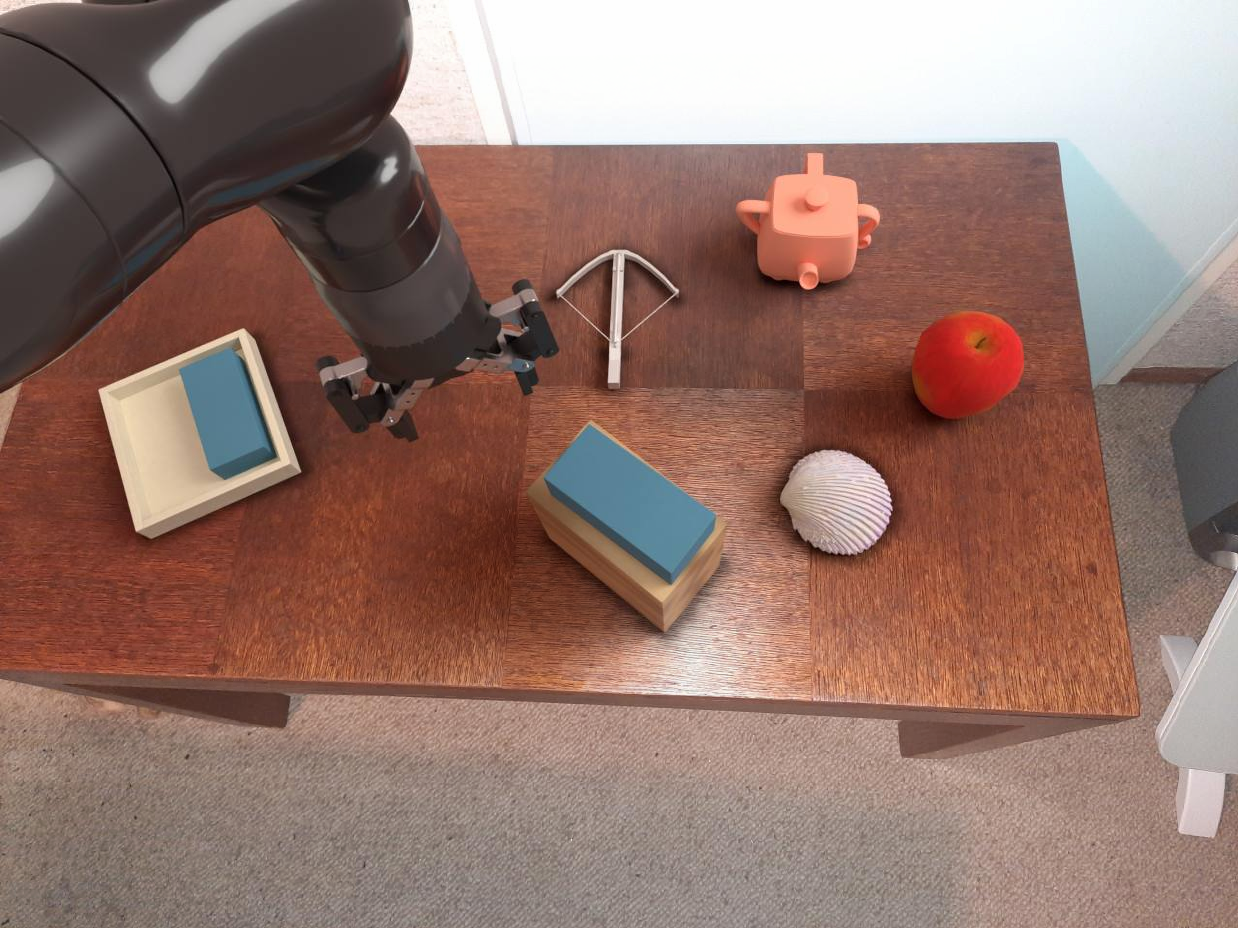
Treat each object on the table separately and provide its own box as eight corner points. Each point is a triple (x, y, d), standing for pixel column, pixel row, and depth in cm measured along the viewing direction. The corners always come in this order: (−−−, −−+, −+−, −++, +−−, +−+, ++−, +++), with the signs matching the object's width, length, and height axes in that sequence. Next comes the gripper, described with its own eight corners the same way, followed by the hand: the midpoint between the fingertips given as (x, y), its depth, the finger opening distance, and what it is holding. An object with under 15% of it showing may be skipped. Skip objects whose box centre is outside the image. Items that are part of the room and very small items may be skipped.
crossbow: (561, 259, 92) (559, 247, 90) (678, 258, 91) (679, 246, 90) (551, 389, 86) (548, 379, 84) (677, 389, 85) (677, 379, 83)
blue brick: (225, 480, 84) (209, 470, 82) (194, 382, 88) (178, 369, 86) (277, 457, 85) (263, 446, 82) (244, 360, 89) (230, 347, 86)
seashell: (774, 440, 79) (886, 430, 77) (780, 461, 84) (886, 452, 82) (780, 546, 76) (898, 539, 73) (786, 561, 81) (897, 556, 78)
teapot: (798, 325, 87) (812, 273, 78) (725, 247, 91) (730, 188, 82) (884, 265, 89) (908, 207, 80) (809, 190, 92) (824, 127, 83)
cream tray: (151, 539, 83) (135, 531, 81) (113, 400, 89) (97, 389, 87) (301, 472, 85) (290, 463, 82) (255, 339, 90) (243, 327, 88)
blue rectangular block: (671, 585, 64) (671, 573, 61) (550, 494, 68) (542, 477, 64) (714, 529, 66) (716, 514, 62) (593, 442, 69) (588, 423, 65)
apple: (1005, 374, 84) (1056, 311, 72) (976, 452, 81) (1024, 400, 70) (913, 339, 86) (949, 273, 74) (882, 415, 83) (914, 358, 72)
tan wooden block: (664, 633, 77) (662, 603, 64) (549, 538, 81) (524, 492, 68) (719, 565, 79) (727, 523, 66) (604, 476, 83) (590, 419, 70)
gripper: (287, 390, 43) (388, 491, 58) (549, 287, 44) (581, 413, 59) (251, 274, 46) (357, 400, 61) (500, 179, 47) (543, 326, 62)
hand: (468, 406), depth 60 cm, fingers open, 8 cm apart
